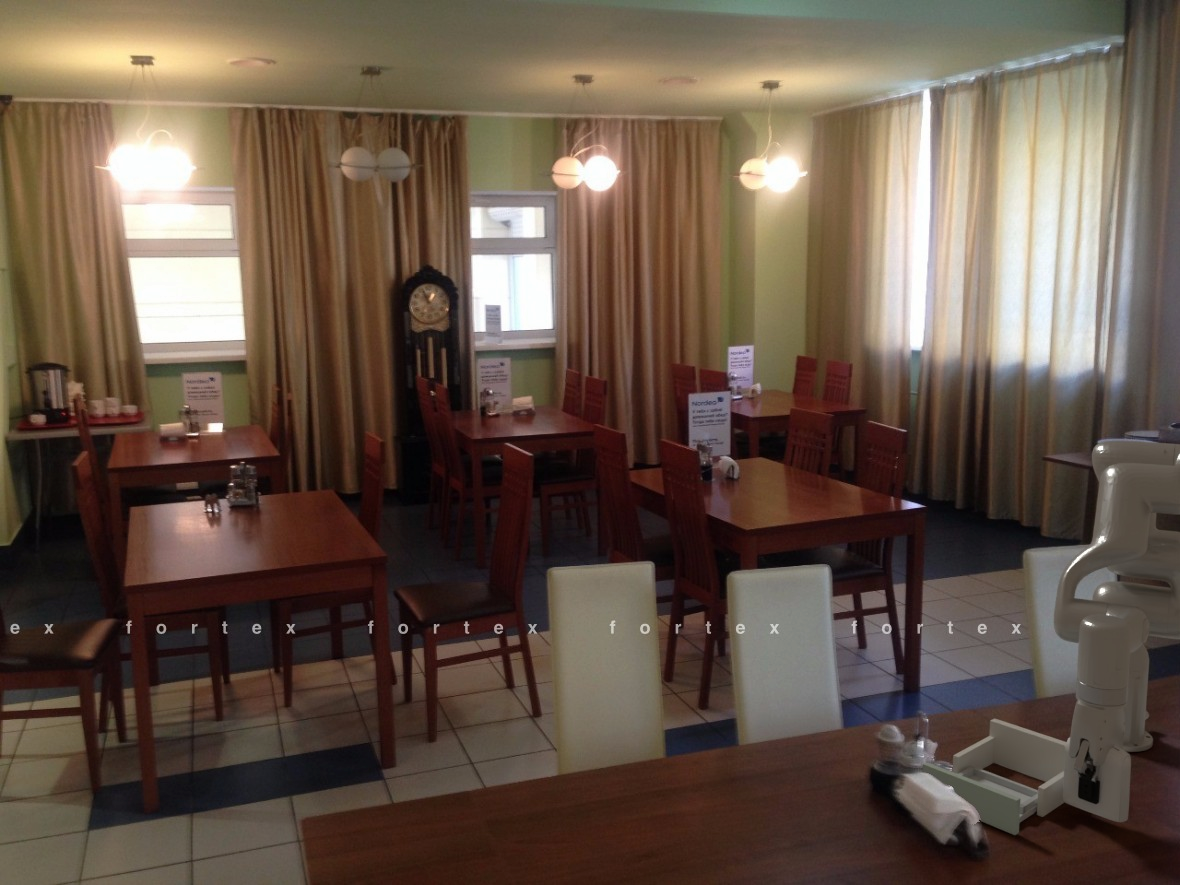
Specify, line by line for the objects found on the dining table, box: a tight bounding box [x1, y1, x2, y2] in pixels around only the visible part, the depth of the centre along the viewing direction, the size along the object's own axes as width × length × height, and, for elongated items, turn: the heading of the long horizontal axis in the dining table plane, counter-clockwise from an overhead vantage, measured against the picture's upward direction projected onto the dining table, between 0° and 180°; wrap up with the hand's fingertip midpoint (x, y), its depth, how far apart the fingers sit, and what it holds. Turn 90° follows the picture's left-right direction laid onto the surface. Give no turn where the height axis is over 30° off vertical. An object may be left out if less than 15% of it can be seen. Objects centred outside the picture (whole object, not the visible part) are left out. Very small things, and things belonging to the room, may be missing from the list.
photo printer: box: [1063, 736, 1132, 823], centre depth 169 cm, size 10×4×12 cm, turn 39°
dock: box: [952, 717, 1067, 818], centre depth 183 cm, size 14×17×8 cm
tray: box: [922, 762, 1038, 836], centre depth 177 cm, size 14×17×6 cm
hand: (1095, 794), depth 170 cm, fingers closed on photo printer, 4 cm apart
